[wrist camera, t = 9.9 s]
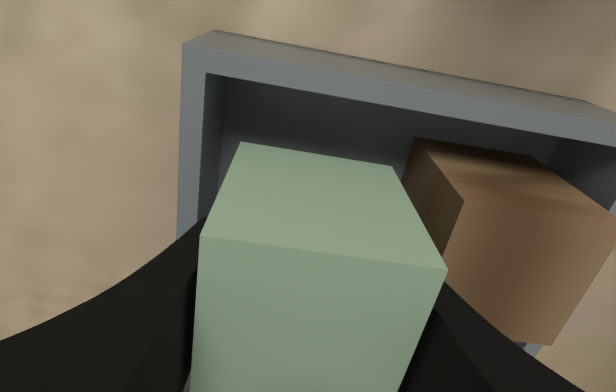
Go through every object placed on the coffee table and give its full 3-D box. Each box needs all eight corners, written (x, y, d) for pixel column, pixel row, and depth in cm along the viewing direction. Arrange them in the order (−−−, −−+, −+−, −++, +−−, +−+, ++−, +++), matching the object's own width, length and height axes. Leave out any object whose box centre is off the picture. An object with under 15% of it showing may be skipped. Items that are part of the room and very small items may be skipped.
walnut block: (529, 155, 15) (627, 224, 10) (485, 251, 17) (551, 345, 12) (414, 136, 14) (464, 200, 10) (383, 238, 16) (413, 329, 12)
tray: (584, 100, 14) (677, 135, 11) (481, 304, 19) (522, 375, 15) (215, 29, 13) (182, 42, 10) (199, 265, 18) (173, 334, 14)
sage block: (391, 166, 12) (448, 269, 7) (357, 284, 14) (383, 423, 9) (240, 141, 11) (199, 235, 7) (227, 266, 13) (189, 403, 9)
